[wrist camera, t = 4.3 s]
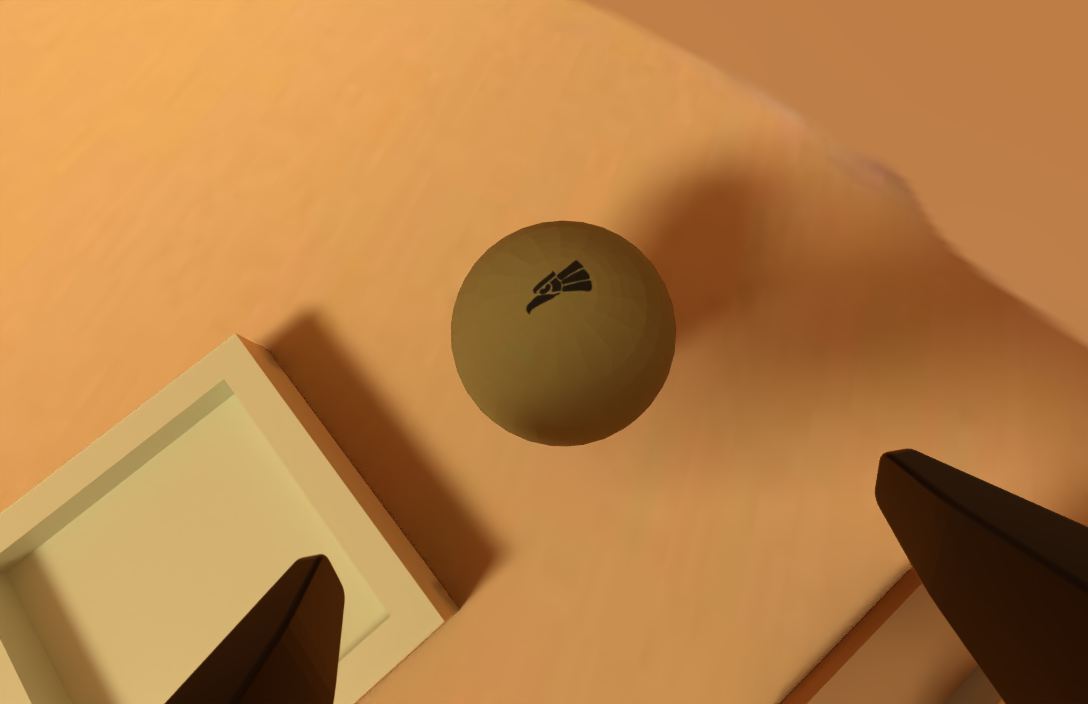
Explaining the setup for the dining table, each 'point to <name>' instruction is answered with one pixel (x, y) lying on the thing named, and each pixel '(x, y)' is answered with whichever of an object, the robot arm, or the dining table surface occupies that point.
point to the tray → (198, 544)
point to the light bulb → (563, 333)
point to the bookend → (898, 658)
